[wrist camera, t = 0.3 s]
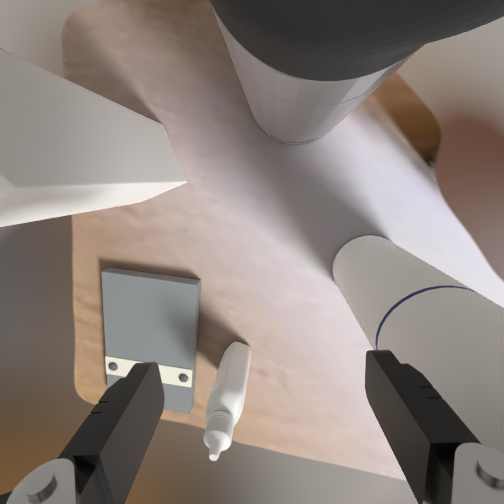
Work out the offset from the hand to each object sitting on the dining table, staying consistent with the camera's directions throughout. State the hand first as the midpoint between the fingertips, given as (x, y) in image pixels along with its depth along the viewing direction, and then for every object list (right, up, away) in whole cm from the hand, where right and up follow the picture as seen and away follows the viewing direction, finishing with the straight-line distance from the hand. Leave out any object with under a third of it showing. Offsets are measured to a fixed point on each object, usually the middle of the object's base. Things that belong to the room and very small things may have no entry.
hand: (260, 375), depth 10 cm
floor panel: (-13, -6, +23) cm, 27 cm away
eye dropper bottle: (-2, -9, +23) cm, 25 cm away
